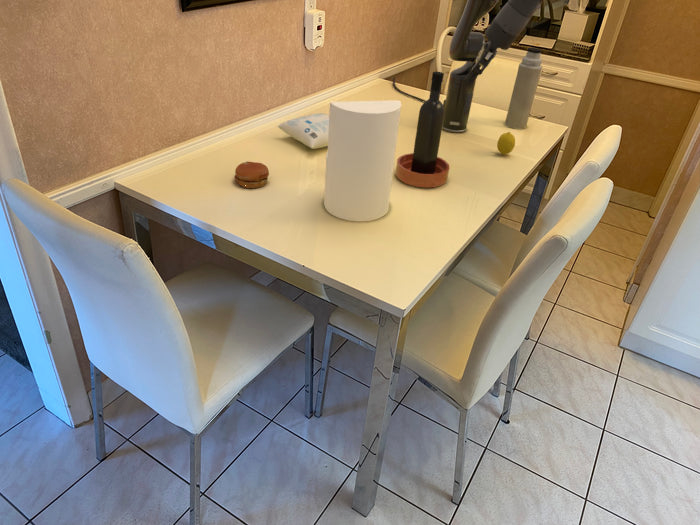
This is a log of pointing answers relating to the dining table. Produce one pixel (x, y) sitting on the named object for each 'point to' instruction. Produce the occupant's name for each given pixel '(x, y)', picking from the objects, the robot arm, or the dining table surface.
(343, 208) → the cylinder
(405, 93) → the robot arm
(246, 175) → the burger
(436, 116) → the wine bottle
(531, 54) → the thermos bottle
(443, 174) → the dish
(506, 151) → the lemon
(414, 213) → the dining table surface
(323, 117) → the pouch
